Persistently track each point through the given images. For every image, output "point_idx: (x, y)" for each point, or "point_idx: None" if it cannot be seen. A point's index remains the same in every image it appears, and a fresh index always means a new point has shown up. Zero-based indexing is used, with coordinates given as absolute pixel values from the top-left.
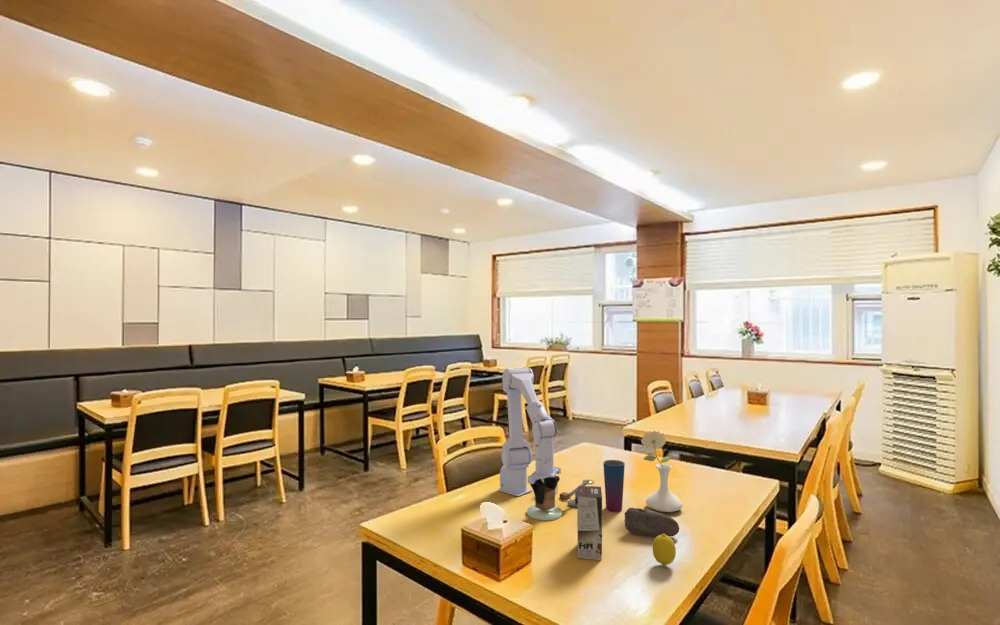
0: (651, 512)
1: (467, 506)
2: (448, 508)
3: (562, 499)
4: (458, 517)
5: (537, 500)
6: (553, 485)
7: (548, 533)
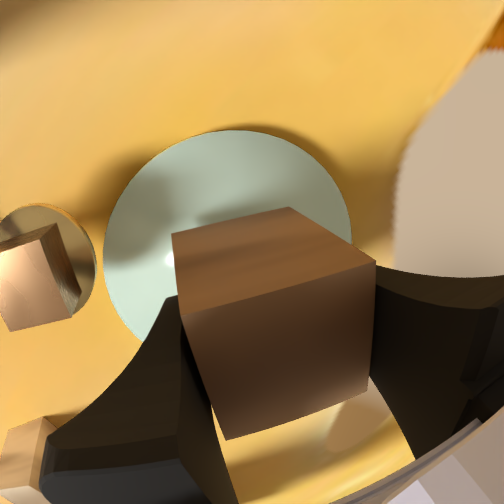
0: None
1: (397, 431)
2: None
3: (68, 260)
4: None
5: None
6: (184, 383)
7: (401, 33)
